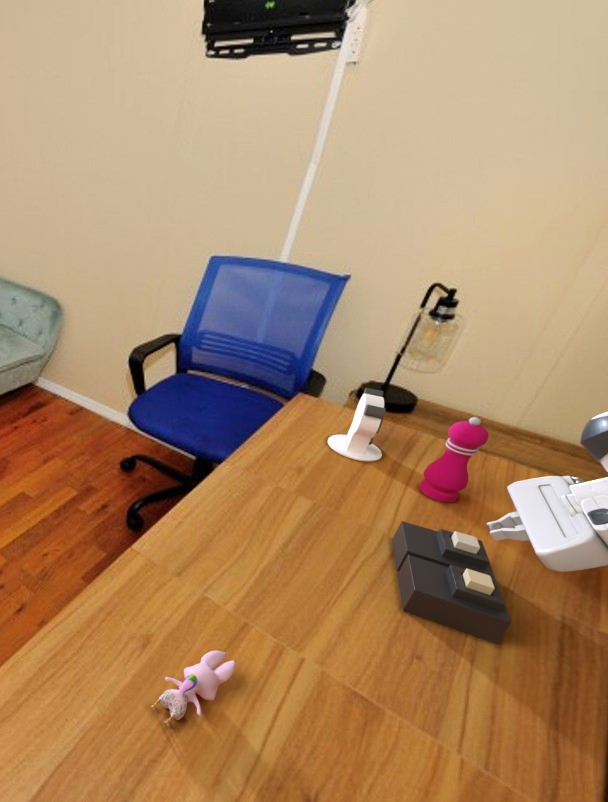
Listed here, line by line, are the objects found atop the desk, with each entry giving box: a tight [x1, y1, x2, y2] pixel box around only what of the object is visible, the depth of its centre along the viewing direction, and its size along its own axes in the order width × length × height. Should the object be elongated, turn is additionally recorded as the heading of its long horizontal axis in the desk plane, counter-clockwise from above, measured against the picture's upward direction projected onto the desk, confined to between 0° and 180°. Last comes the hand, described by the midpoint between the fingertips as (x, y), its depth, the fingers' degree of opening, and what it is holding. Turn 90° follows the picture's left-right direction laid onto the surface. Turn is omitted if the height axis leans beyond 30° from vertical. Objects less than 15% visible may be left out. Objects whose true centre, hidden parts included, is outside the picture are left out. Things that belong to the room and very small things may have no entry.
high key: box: [462, 568, 495, 595], centre depth 83 cm, size 3×3×2 cm
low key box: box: [391, 520, 496, 579], centre depth 93 cm, size 12×9×7 cm
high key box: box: [397, 555, 512, 645], centre depth 86 cm, size 12×9×7 cm
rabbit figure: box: [150, 650, 236, 728], centre depth 74 cm, size 6×6×15 cm
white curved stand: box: [327, 387, 387, 463], centre depth 125 cm, size 12×11×15 cm
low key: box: [451, 530, 480, 554], centre depth 90 cm, size 3×3×2 cm
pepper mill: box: [419, 416, 489, 503], centre depth 109 cm, size 7×7×20 cm
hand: (490, 531), depth 88 cm, fingers closed
